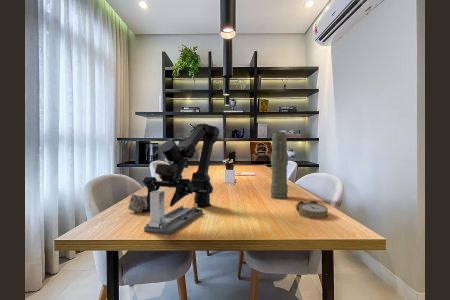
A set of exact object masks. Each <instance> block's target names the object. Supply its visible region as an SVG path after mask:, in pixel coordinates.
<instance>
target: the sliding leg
mask: <svg viewBox="0 0 450 300" xmlns="http://www.w3.org/2000/svg"><path fill="white" fill-rule="evenodd" d="M149 214H150V215H149V216H150V217H149V218H150V220H149V221H148V222H149V226H151V227H158V228H159V227H160V225H162V224H164V223H166V222H169V224H171V218H165V214H166V213H165V191H164V190H157V191H153V192H150V211H149Z"/></svg>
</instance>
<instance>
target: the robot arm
mask: <svg viewBox="0 0 450 300" xmlns="http://www.w3.org/2000/svg"><path fill="white" fill-rule="evenodd" d="M219 136H220V128H218V126H214V125H209V124H207V123H198V124H196V126H195V128H194V129H193V131H192V132H191V133H190V134H189V135H188V137H187V139H185V140H182V141H180V142H179V143H176V141H175V139H172V138H171V139H168V140H167V141H164V142H163V143H162V144H160V146H159V149H158V150H159V151H160V153H161V154H162V155H163V157H164V158H165V160H166V161H167V162H170V163H169V164H165V163H157V164H156V166H155V172H154V173H155V174H156V175H159V179H160V180H158V179H157V178H156V176H145V177H144V178H143V180H142V184H143V185H144V186H145V187H146V190H147V195H146V196H147V204H148V205H149V204H150V192H153V191H160V187H163V188H171V189H172V188H173V189H175V191H174V193H173V196H172V198H171V200H170V203H169V207H171V208H172V207H173V206H175V204H177V203H178V202H180V201H181V200H182V199H183V198H185V197H186V196H189V195H192V194H193V193H194V196H193V198H194V200H193V201H194V202H193V206H194V204H195V203H197V208H199V209H200V208H201V209H202V208H207V207H211V206H212V203H211V198H210V197H211V196H210V194H212V193H213V192H214V191H213V190H214V188H213V185H212V183H211V177H210V175H209V170H210V168H209V167H210V162H211V157H212V152H213V147H214V144H215V143H216V142H217V141H218V139H219ZM201 140H202V147H201V152H200V157H199V162H198V166H197V167H198V168H197V170H196V171H195V172H192V174H191V175H192V176H191V179H190V178H183V175H182V174H183V172H184V169H186V168H189V165H188V161H187V159H190V160H191V159H192V158H193V157H194V156H195V154H196V151H197V150H196V148H197V145H198V144H199V142H200V141H201Z"/></svg>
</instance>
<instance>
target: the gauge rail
mask: <svg viewBox="0 0 450 300" xmlns="http://www.w3.org/2000/svg"><path fill="white" fill-rule="evenodd" d="M193 204H194V203H193ZM203 212H204V211H203V209H202V208H201V209H200V208H198V207H197V203H195V204H194V205H193V206H192V207H184V205H180V206H178V207H176V208H174V209H172V210H169V211H168V212H166V213H165V218H171V224H169V222H166V223H164V224H162V225H160V227H159V228H158V227H151V226H149V221H148V222H146V223H145V226H144V229H143V230H144V232H147V233H153V234H162V235H169V236H171V235H172V234H174V233H176V232H177V231H178V230H180V229H181V228H183V227H184V226H185V225H187V224H189V223H191V222H192V221H193V220H194V219H196V218H197V217H199V216H200V215H202V214H203Z"/></svg>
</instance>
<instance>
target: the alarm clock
mask: <svg viewBox="0 0 450 300" xmlns="http://www.w3.org/2000/svg"><path fill="white" fill-rule="evenodd" d="M295 209H296V211H297V212H298V215H299V216H301V217H303V218H306V219H312V220H324V219H326V218H328V217H329V216H330V215H329V214H328V207H327V206H325V205H323V204H320V203H319V202H317V201H315V200H310V201H309V202H305V201H303V200H299V201H297V203H296V204H295Z"/></svg>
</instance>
